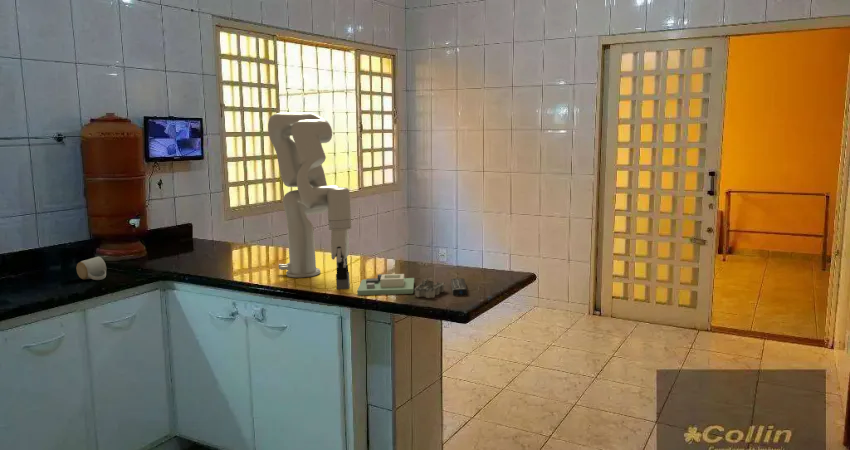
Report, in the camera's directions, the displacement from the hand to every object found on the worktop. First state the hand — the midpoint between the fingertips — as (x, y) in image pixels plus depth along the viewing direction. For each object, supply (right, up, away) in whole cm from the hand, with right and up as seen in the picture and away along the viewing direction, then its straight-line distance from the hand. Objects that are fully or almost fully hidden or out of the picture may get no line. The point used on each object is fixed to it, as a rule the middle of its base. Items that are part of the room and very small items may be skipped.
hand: (342, 277), depth 211 cm
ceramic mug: (-99, -3, +28) cm, 103 cm away
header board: (+15, -3, -3) cm, 16 cm away
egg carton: (+29, -5, -10) cm, 32 cm away
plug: (0, -4, +1) cm, 4 cm away
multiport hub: (+39, -4, -7) cm, 40 cm away
